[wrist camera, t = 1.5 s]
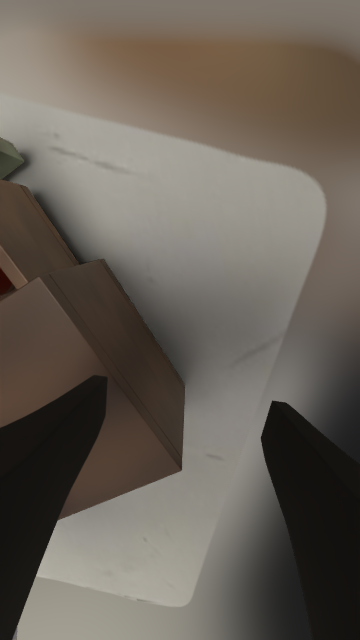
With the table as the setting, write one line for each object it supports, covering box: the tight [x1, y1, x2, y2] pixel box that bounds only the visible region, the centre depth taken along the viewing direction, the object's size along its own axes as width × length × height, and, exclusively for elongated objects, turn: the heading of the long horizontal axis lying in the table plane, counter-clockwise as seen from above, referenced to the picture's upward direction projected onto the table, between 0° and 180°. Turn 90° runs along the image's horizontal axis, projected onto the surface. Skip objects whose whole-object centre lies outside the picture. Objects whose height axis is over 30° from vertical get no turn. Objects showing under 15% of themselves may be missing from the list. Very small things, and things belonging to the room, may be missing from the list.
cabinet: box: [0, 259, 185, 520], centre depth 18 cm, size 13×13×9 cm
